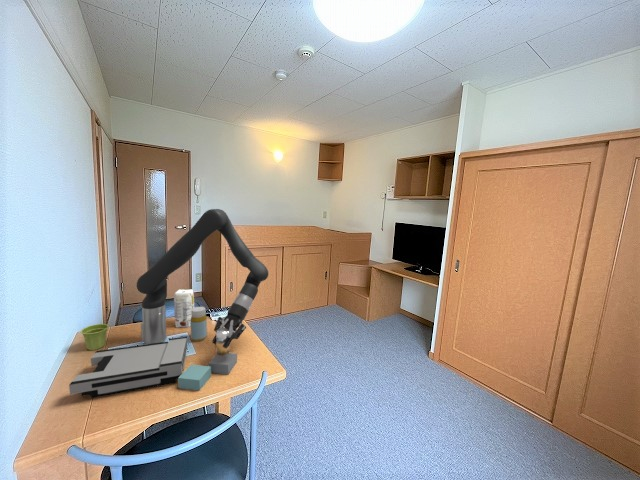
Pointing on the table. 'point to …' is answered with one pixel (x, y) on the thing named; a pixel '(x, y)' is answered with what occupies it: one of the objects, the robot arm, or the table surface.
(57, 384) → the table surface
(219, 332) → the salt shaker
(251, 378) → the table surface
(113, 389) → the office tray
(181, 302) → the juice carton
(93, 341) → the plant pot
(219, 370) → the stand
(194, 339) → the bottle
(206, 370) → the stand
